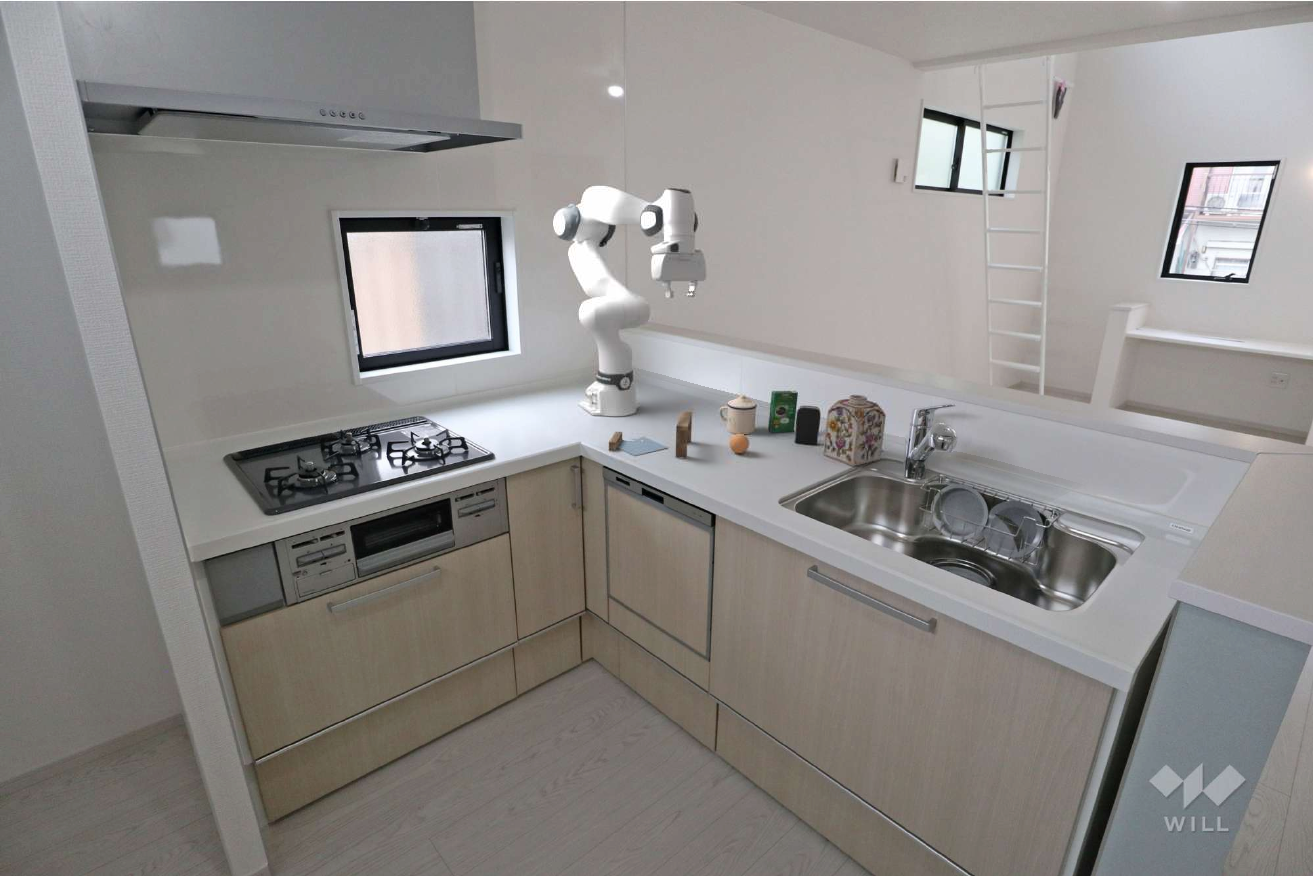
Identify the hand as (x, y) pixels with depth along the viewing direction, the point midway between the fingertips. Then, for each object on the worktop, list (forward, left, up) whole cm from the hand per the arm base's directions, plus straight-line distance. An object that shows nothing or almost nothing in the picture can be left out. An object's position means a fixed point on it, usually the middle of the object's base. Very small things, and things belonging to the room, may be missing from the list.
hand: (680, 297), depth 195 cm
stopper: (-3, -21, -42) cm, 47 cm away
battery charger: (+28, +28, -42) cm, 58 cm away
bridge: (+11, -6, -42) cm, 44 cm away
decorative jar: (+44, +29, -42) cm, 67 cm away
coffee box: (+16, +30, -42) cm, 54 cm away
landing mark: (+2, -16, -42) cm, 45 cm away
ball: (+23, +5, -39) cm, 45 cm away
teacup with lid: (+7, +19, -42) cm, 47 cm away
